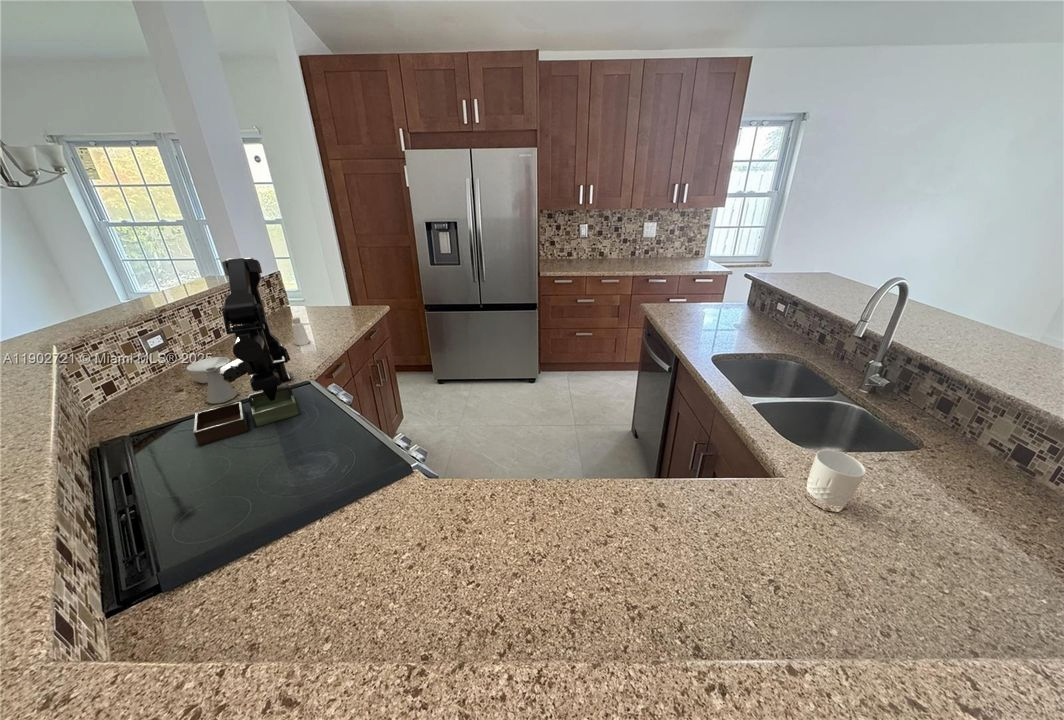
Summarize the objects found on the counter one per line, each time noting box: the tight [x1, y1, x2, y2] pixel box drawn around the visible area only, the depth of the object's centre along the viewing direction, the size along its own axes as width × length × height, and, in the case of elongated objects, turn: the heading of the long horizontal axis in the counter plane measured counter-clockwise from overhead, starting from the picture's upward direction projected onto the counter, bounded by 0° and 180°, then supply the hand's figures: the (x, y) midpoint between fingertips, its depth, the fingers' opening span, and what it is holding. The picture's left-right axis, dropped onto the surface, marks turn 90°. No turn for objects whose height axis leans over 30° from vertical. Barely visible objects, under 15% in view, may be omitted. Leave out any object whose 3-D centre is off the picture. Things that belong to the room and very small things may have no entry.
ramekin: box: [186, 356, 231, 384], centre depth 124 cm, size 11×11×5 cm
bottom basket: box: [193, 401, 249, 447], centre depth 98 cm, size 11×10×4 cm
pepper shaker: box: [291, 316, 310, 346], centre depth 151 cm, size 5×5×11 cm
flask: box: [204, 367, 239, 405], centre depth 111 cm, size 7×7×10 cm
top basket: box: [247, 384, 300, 428], centre depth 105 cm, size 11×10×7 cm
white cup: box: [805, 449, 867, 506], centre depth 74 cm, size 8×8×10 cm
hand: (271, 398), depth 104 cm, fingers closed
